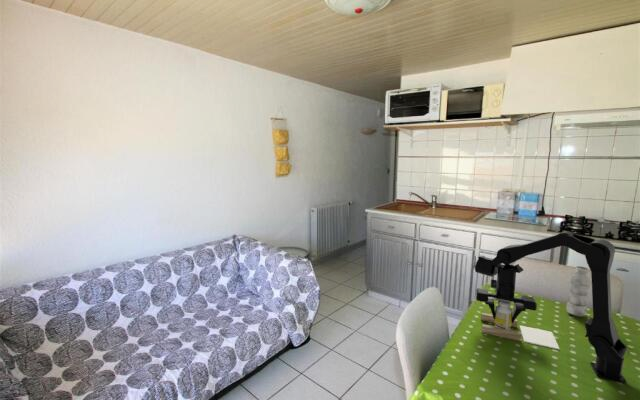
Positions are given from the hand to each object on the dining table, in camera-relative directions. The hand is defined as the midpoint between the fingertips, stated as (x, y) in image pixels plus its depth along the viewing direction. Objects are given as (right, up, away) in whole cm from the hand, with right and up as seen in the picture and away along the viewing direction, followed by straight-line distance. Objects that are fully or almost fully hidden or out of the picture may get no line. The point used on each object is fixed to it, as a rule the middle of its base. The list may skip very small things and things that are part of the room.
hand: (503, 320), depth 113 cm
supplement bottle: (0, -3, 0) cm, 3 cm away
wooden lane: (-1, -4, +1) cm, 4 cm away
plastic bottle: (+37, -2, +12) cm, 39 cm away
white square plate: (+10, -4, -4) cm, 12 cm away
